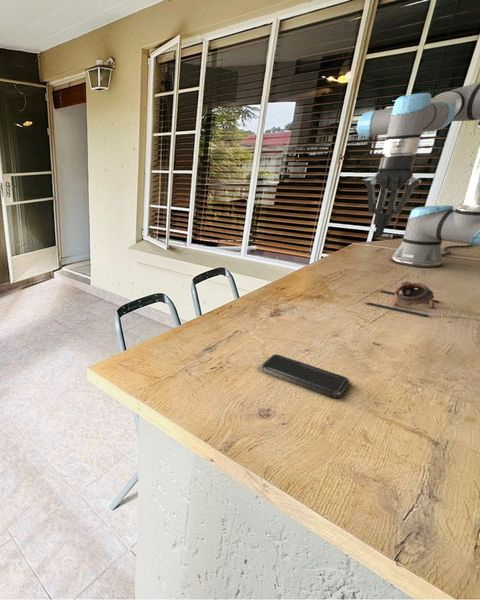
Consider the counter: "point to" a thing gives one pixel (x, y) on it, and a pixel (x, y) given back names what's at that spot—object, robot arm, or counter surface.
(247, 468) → the counter surface
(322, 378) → the phone
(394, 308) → the bay strips
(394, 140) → the robot arm
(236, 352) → the counter surface
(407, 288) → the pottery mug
